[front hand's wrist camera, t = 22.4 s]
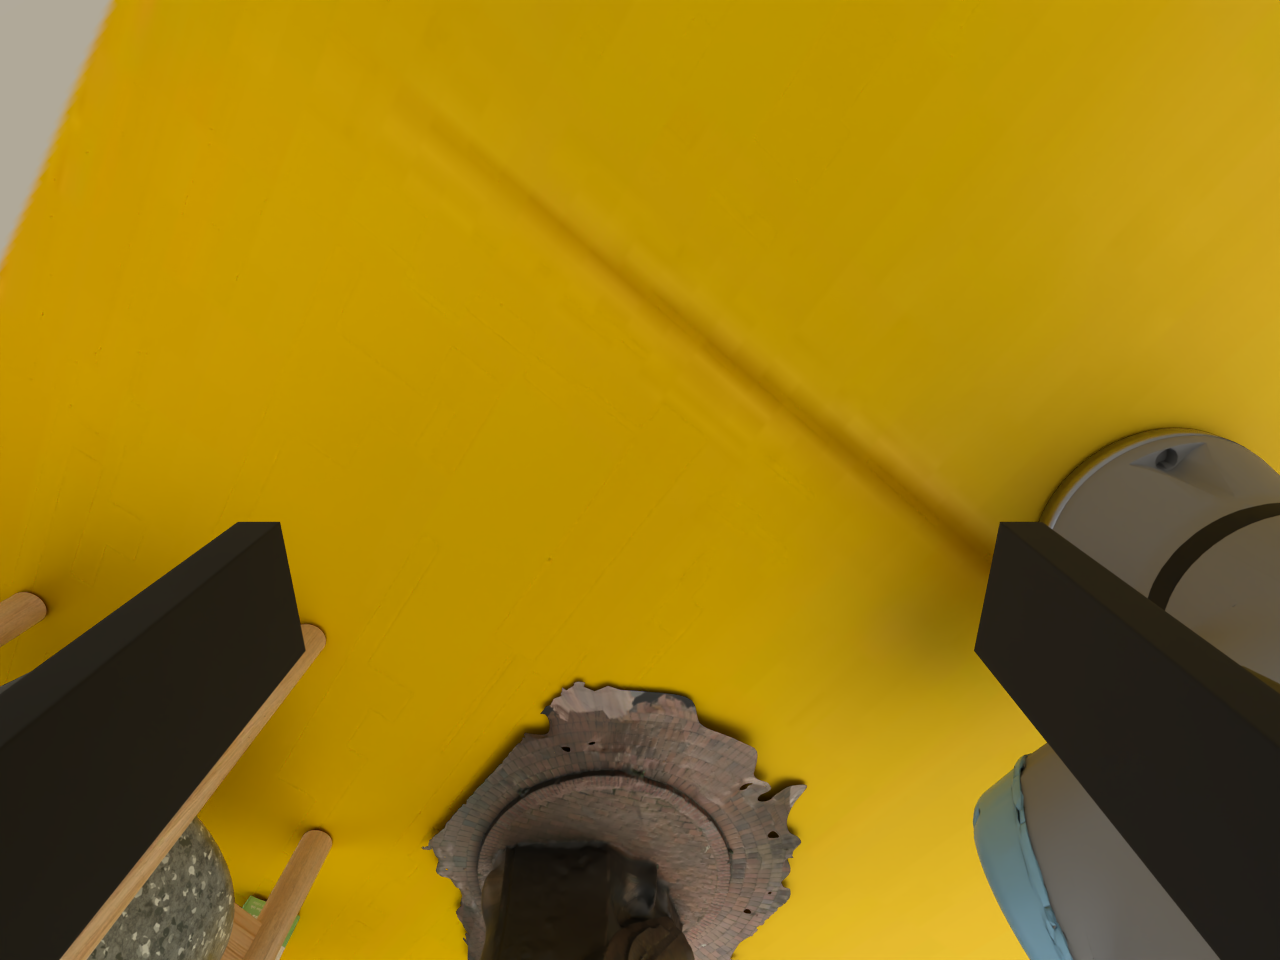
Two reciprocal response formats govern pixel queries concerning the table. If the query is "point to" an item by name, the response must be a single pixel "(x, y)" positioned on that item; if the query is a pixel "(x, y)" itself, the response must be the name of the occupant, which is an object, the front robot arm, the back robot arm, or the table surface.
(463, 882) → the sculpture
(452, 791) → the table surface
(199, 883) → the planter
